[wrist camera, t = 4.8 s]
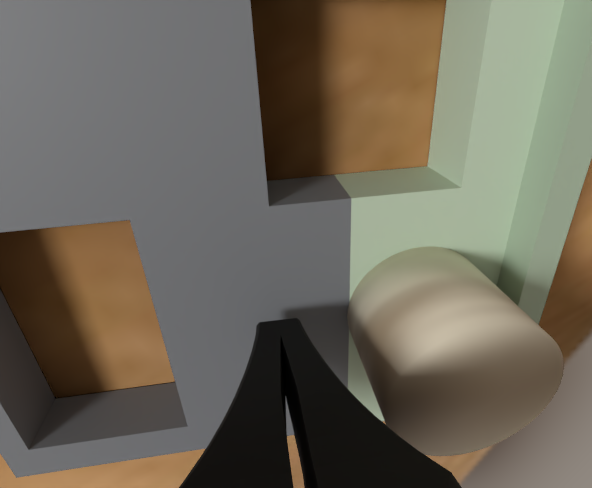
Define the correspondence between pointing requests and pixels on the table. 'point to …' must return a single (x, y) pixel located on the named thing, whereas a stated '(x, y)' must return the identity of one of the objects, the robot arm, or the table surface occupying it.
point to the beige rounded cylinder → (450, 352)
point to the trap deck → (263, 195)
